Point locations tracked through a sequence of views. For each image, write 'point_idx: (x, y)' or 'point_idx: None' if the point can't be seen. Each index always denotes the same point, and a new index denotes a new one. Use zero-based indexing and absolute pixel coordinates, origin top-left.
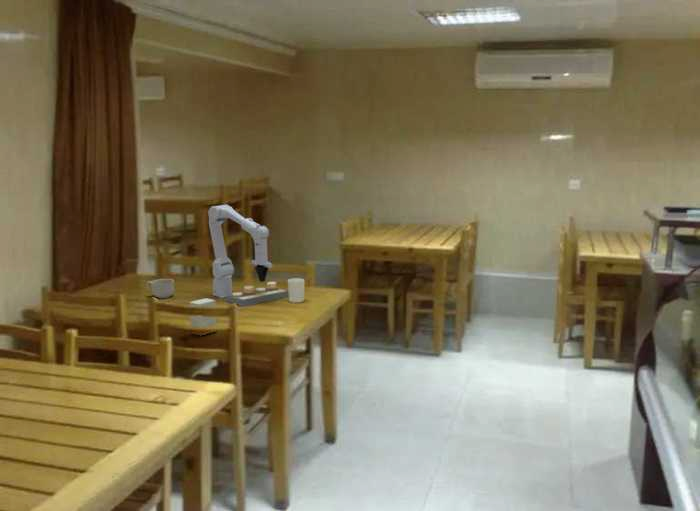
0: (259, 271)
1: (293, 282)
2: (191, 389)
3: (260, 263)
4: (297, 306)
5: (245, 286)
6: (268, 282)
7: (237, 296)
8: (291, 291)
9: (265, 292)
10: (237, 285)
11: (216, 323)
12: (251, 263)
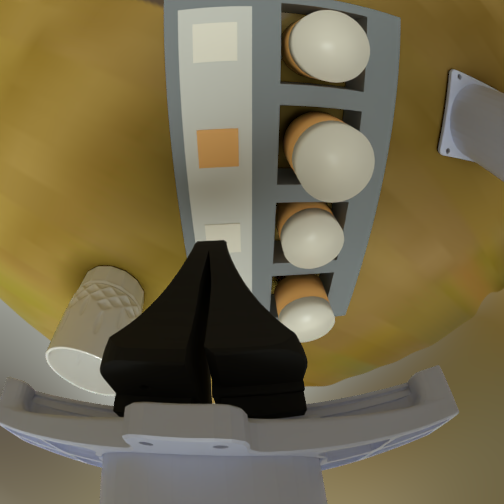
0: (163, 315)
1: (48, 347)
2: None
3: (84, 441)
4: (30, 246)
5: (369, 154)
6: (324, 317)
7: (295, 24)
8: (75, 303)
9: (259, 238)
10: (498, 258)
11: None
12: (437, 376)
